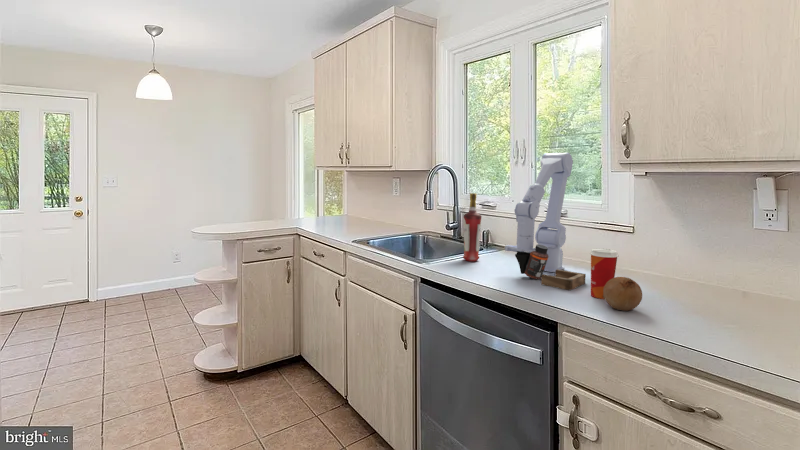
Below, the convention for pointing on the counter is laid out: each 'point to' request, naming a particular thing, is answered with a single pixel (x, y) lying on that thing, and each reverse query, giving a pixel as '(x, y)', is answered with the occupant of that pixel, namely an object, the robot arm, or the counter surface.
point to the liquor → (472, 231)
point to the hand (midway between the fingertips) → (523, 273)
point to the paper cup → (602, 270)
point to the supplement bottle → (537, 262)
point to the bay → (564, 279)
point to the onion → (622, 293)
